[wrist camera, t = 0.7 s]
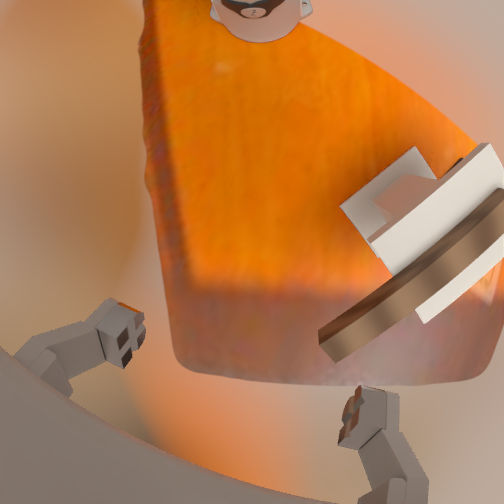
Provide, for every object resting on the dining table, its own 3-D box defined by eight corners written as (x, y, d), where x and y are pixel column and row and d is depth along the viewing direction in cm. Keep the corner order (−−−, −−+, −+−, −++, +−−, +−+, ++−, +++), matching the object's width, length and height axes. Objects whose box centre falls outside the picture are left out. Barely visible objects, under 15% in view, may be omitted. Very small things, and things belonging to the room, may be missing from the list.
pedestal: (376, 256, 57) (424, 324, 32) (339, 205, 55) (370, 243, 31) (447, 199, 52) (530, 230, 27) (413, 146, 50) (489, 142, 25)
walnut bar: (333, 347, 34) (335, 363, 32) (318, 330, 34) (319, 345, 31) (508, 209, 27) (522, 214, 24) (497, 187, 27) (512, 190, 24)
